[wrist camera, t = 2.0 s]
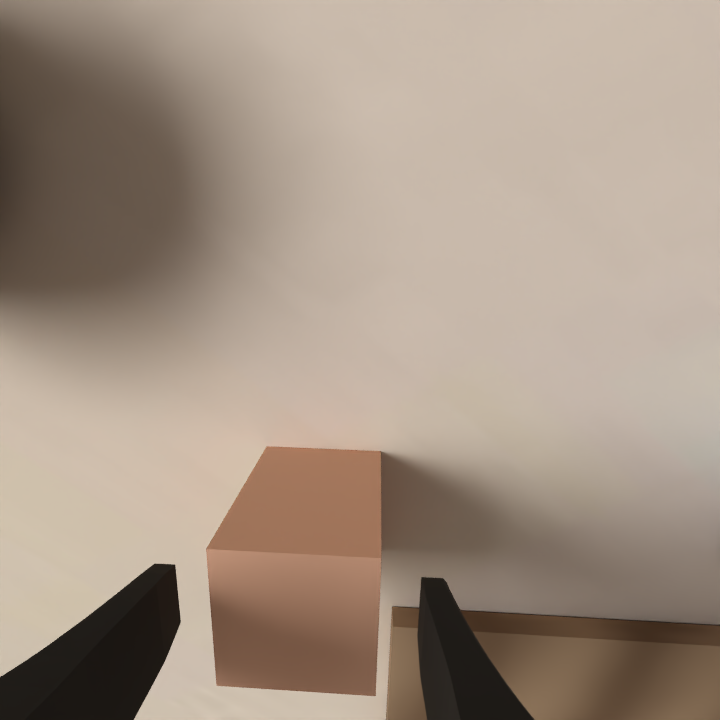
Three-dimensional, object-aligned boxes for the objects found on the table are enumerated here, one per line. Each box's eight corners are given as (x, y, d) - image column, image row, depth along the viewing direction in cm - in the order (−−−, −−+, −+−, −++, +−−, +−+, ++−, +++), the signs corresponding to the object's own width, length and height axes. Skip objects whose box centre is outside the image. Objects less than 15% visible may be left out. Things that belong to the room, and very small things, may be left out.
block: (380, 451, 16) (381, 558, 11) (377, 549, 18) (375, 695, 12) (267, 446, 17) (206, 548, 11) (270, 544, 18) (216, 685, 12)
